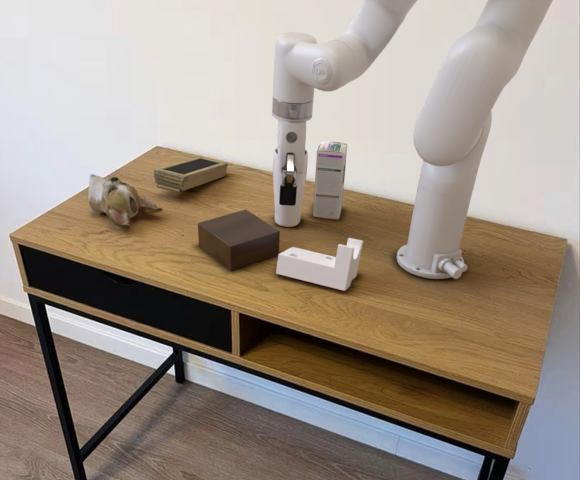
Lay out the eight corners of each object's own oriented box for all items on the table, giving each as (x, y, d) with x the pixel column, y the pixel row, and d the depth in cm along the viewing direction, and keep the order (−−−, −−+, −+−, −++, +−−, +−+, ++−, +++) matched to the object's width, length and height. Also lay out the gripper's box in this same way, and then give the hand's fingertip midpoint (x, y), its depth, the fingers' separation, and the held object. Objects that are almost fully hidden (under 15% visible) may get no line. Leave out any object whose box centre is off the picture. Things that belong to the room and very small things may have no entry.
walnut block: (279, 254, 121) (280, 231, 118) (230, 271, 115) (230, 246, 112) (245, 232, 127) (245, 209, 124) (198, 246, 122) (197, 222, 119)
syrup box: (339, 220, 134) (346, 152, 125) (311, 217, 134) (316, 149, 125) (341, 208, 138) (348, 142, 129) (315, 205, 139) (320, 139, 130)
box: (151, 191, 137) (152, 168, 134) (203, 173, 156) (204, 153, 153) (185, 200, 135) (186, 177, 132) (233, 181, 153) (235, 160, 151)
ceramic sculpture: (110, 158, 131) (164, 182, 125) (113, 197, 136) (165, 221, 131) (69, 174, 124) (124, 200, 118) (74, 214, 129) (127, 240, 124)
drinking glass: (303, 230, 129) (308, 158, 120) (270, 228, 129) (272, 156, 120) (303, 215, 134) (308, 146, 125) (271, 214, 134) (274, 144, 125)
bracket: (355, 281, 116) (363, 240, 113) (344, 290, 110) (352, 248, 107) (289, 265, 120) (295, 225, 117) (275, 273, 113) (281, 231, 110)
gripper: (315, 124, 111) (307, 214, 122) (310, 94, 125) (303, 177, 135) (272, 122, 111) (268, 212, 121) (272, 92, 124) (268, 176, 135)
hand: (286, 194), depth 128 cm, fingers open, 9 cm apart
